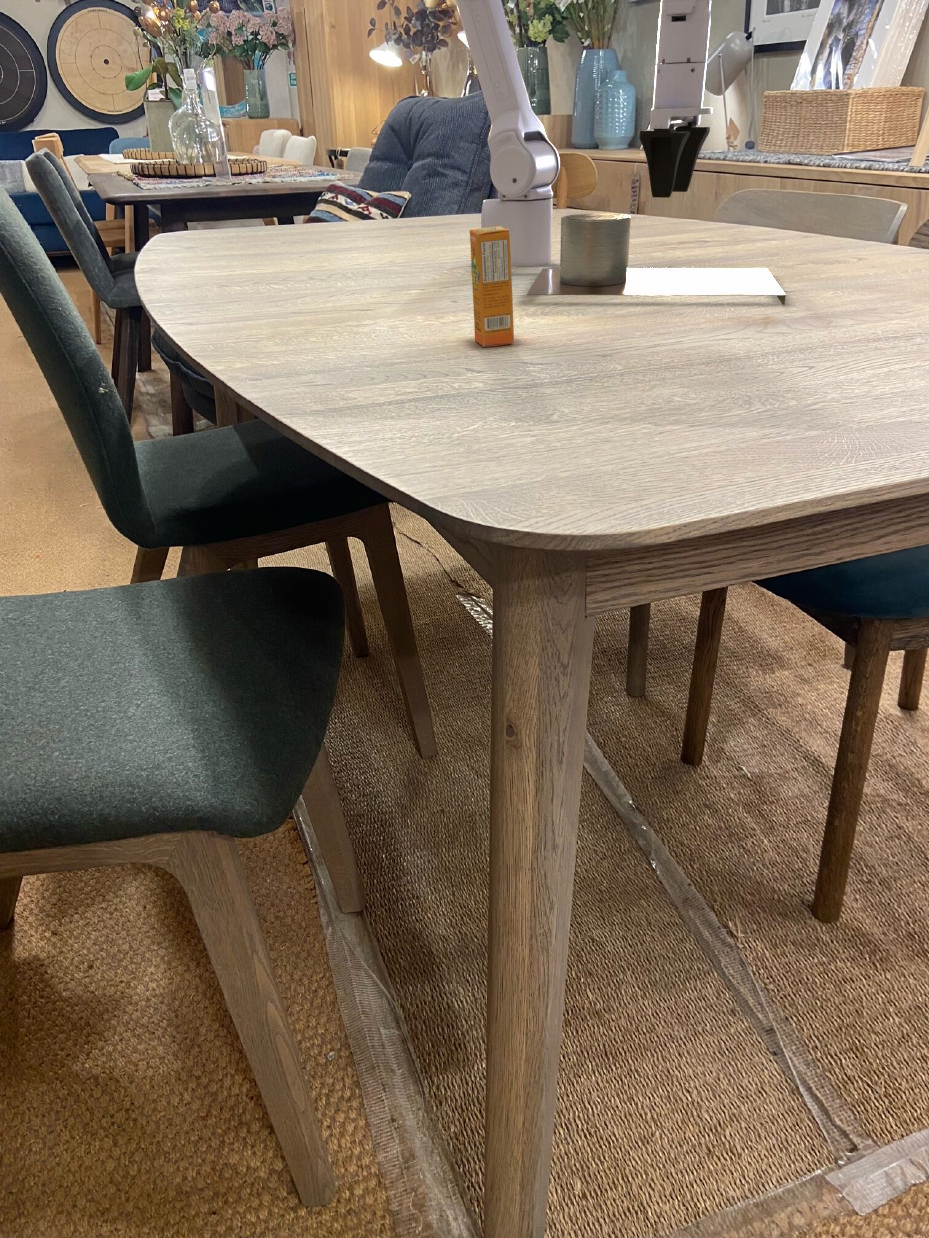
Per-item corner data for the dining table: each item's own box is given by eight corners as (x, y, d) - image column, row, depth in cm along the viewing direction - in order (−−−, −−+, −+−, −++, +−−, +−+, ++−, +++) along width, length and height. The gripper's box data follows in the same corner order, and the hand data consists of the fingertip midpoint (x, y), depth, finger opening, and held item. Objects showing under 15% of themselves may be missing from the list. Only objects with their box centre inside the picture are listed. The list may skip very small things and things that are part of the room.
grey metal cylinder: (556, 286, 103) (558, 221, 100) (562, 275, 110) (564, 213, 107) (626, 286, 102) (630, 220, 98) (627, 275, 109) (631, 212, 105)
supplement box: (470, 340, 85) (467, 227, 80) (505, 337, 86) (504, 225, 81) (479, 348, 82) (477, 231, 77) (515, 344, 83) (514, 229, 78)
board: (526, 303, 100) (526, 294, 100) (542, 277, 115) (542, 268, 115) (784, 304, 95) (786, 294, 95) (765, 276, 111) (766, 268, 110)
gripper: (699, 61, 95) (686, 200, 102) (730, 64, 106) (717, 189, 113) (635, 64, 98) (627, 199, 105) (672, 66, 109) (662, 189, 116)
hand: (670, 194), depth 109 cm, fingers open, 7 cm apart
